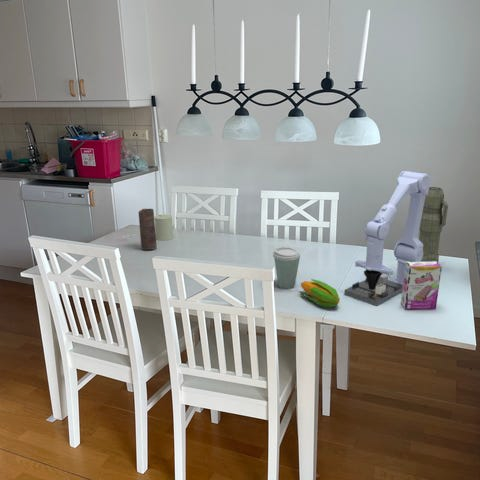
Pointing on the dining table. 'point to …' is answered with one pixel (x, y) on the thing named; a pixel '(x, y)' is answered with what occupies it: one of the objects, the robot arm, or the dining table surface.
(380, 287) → the fader tab
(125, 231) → the dining table surface
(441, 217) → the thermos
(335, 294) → the corn
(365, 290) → the console
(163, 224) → the can
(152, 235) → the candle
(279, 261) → the disposable coffee cup
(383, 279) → the fader
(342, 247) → the dining table surface
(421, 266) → the candy bar box
